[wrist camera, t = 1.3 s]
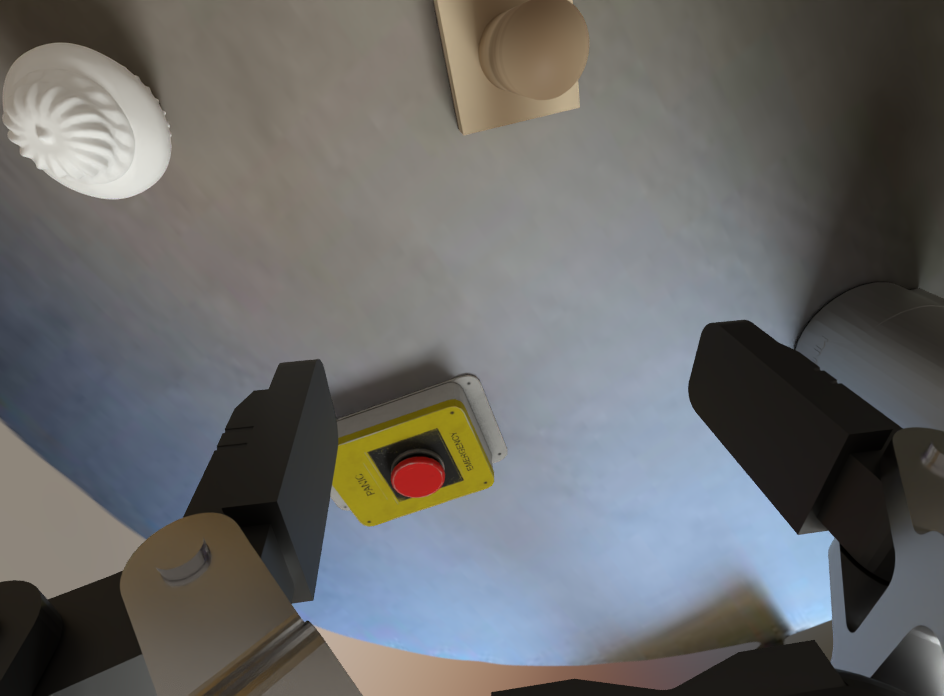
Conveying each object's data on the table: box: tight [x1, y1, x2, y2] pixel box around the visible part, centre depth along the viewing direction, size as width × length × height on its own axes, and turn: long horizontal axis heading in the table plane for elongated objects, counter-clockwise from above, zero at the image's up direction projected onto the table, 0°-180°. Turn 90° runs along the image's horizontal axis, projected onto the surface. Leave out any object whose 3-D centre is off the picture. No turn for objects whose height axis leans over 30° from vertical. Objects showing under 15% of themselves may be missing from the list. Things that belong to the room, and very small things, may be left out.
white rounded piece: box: [2, 43, 172, 199], centre depth 21 cm, size 6×6×7 cm
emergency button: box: [330, 375, 507, 526], centre depth 36 cm, size 9×4×15 cm
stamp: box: [433, 0, 589, 135], centre depth 21 cm, size 6×6×9 cm
